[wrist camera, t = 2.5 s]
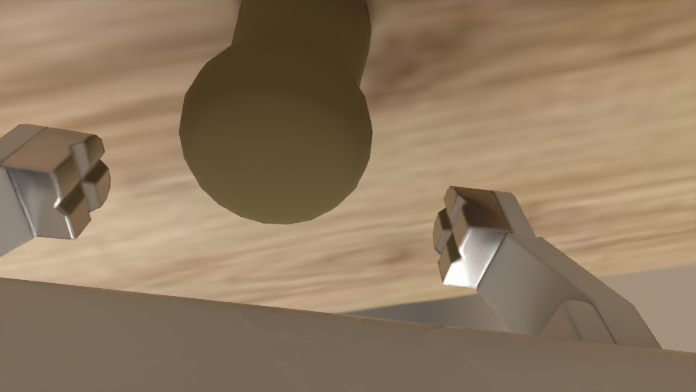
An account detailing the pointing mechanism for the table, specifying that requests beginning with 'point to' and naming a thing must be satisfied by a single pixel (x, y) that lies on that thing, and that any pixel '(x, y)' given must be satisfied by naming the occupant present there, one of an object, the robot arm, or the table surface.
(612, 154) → the table surface
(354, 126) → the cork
